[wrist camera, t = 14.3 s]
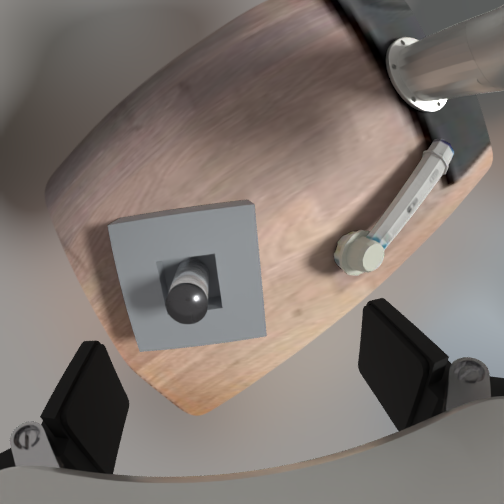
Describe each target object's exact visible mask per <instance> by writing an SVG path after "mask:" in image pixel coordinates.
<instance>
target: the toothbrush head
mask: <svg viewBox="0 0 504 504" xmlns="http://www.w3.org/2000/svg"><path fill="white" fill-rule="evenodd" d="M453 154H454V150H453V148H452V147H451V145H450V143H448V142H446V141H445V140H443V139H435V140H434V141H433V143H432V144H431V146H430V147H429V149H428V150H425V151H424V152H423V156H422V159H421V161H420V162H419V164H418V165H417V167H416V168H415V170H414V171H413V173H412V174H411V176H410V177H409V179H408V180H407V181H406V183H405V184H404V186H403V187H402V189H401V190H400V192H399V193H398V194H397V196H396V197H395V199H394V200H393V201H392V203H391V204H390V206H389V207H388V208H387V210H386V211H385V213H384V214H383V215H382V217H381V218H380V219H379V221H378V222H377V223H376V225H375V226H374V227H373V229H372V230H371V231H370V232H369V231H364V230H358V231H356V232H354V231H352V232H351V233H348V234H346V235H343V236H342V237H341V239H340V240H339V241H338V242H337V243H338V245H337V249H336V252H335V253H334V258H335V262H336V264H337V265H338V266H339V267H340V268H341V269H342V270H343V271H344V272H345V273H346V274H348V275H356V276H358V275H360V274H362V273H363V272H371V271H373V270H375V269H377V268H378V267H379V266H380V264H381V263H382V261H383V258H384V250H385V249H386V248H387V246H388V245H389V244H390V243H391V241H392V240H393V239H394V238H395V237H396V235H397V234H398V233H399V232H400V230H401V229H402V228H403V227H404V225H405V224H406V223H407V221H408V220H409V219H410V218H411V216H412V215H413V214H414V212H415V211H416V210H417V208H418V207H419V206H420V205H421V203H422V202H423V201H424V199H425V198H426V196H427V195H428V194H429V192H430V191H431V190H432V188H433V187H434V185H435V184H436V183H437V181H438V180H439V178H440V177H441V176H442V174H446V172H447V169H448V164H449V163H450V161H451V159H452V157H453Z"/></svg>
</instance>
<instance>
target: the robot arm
mask: <svg viewBox="0 0 504 504" xmlns="http://www.w3.org/2000/svg"><path fill="white" fill-rule="evenodd" d="M386 66H387V71H388V75H389V78H390V80H391V82H392V84H393V86H394V88H395V89H396V91H397V92H398V94H399V95H400V96H401V97H402V99H403V100H405V101H406V102H407V103H408V104H409V105H410V106H412V107H413V108H415V109H417V110H419V111H423V112H433V111H437V110H439V109H441V108H442V107H443V106H444V104H445V103H446V101H447V99H449V98H455V97H461V96H467V95H474V94H480V93H488V92H496V91H504V5H503V6H501V7H499V8H496V9H494V10H492V11H489V12H486V13H484V14H482V15H479V16H476V17H473V18H471V19H468V20H465V21H463V22H460V23H458V24H455V25H453V26H451V27H448V28H446V29H443V30H441V31H439V32H436V33H434V34H432V35H430V36H427V37H425V38H423V39H421V40H417V39H414V38H410V37H403V38H400V39H397V40H396V41H394V42H393V43H392V44H391V45H390V46H389V48H388V50H387V54H386ZM448 358H449V357H448V356H447V355H446V354H445V353H444V352H443V351H442V350H441V349H440V348H439V347H438V346H437V345H436V344H435V343H433V342H432V341H431V340H430V339H429V338H428V337H427V336H426V335H424V333H422V332H421V331H420V330H419V329H418V328H417V327H416V326H415V325H414V324H413V323H411V322H410V321H409V320H408V319H407V318H406V317H404V315H402V314H401V313H400V312H399V311H398V310H396V308H394V307H393V306H392V305H391V304H390V303H389V302H387V301H386V300H385V299H384V298H380V299H376V300H372V301H369V302H368V303H367V306H364V308H363V317H362V330H361V341H360V352H359V361H358V367H359V371H360V373H361V374H362V376H363V378H364V379H365V381H366V382H367V384H368V385H369V387H370V388H371V390H372V391H373V393H374V394H375V395H376V397H377V399H378V400H379V402H380V403H381V405H382V406H383V408H384V409H385V411H386V412H387V414H388V416H389V417H390V419H391V420H392V422H393V423H394V425H395V426H396V428H397V429H398V431H399V432H396V433H394V434H391V435H388V436H386V437H383V438H380V439H378V440H375V441H372V442H369V443H366V444H363V445H360V446H357V447H354V448H351V449H348V450H345V451H341V452H338V453H334V454H331V455H327V456H323V457H320V458H315V459H312V460H307V461H303V462H298V463H294V464H289V465H284V466H279V467H273V468H268V469H261V470H254V471H247V472H239V473H231V474H220V475H207V476H188V477H145V476H127V475H115V474H113V471H114V467H115V461H116V457H117V453H118V449H119V444H120V440H121V436H122V432H123V428H124V424H125V420H126V416H127V412H128V409H129V400H128V397H127V395H126V393H125V391H124V389H123V387H122V384H121V382H120V380H119V378H118V376H117V373H116V371H115V369H114V367H113V364H112V362H111V360H110V357H109V355H108V352H107V350H106V348H105V346H104V345H103V344H100V342H99V341H84V342H83V343H82V344H81V346H80V347H79V349H78V351H77V352H76V354H75V356H74V357H73V359H72V361H71V362H70V364H69V366H68V367H67V369H66V371H65V372H64V374H63V376H62V378H61V379H60V381H59V383H58V385H57V386H56V388H55V390H54V392H53V394H52V395H51V398H50V399H49V401H48V403H47V405H46V407H45V409H44V410H43V412H42V414H41V416H40V417H41V418H42V419H43V422H42V424H41V425H40V424H39V423H37V422H34V421H31V422H25V423H22V424H21V425H19V426H18V427H17V428H16V429H15V430H14V431H13V433H12V434H11V438H10V445H11V448H10V449H8V450H6V451H4V452H3V453H0V504H504V378H498V377H490V375H489V370H488V368H487V367H486V365H485V364H484V363H483V362H481V361H479V360H477V359H475V358H470V357H469V358H468V357H463V358H460V359H457V360H455V361H454V362H453V363H452V364H451V363H450V362H449V361H448Z"/></svg>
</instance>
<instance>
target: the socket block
mask: <svg viewBox="0 0 504 504" xmlns="http://www.w3.org/2000/svg"><path fill="white" fill-rule="evenodd" d="M108 231H109V236H110V241H111V246H112V251H113V255H114V260H115V265H116V269H117V273H118V277H119V281H120V285H121V289H122V293H123V297H124V301H125V304H126V308H127V312H128V315H129V319H130V322H131V325H132V329H133V332H134V335H135V338H136V341H137V345H138V348H139V351H140V352H142V351H155V350H166V349H176V348H185V347H194V346H202V345H210V344H218V343H225V342H232V341H239V340H246V339H252V338H258V337H264V336H267V334H266V323H265V312H264V301H263V290H262V279H261V268H260V258H259V247H258V236H257V226H256V216H255V205H254V204H253V203H252V202H251V201H249V200H240V201H232V202H224V203H216V204H208V205H201V206H193V207H186V208H179V209H172V210H166V211H159V212H153V213H146V214H140V215H134V216H128V217H122V218H119V219H117V220H116V221H114V222H112V223H111V224H109V225H108ZM186 259H198V260H200V261H202V262H203V263H204V264H205V265H206V267H207V268H208V272H209V284H208V310H207V313H206V315H205V316H204V318H203V319H202V320H200V321H199V322H197V323H194V324H181V323H179V322H177V321H175V320H174V319H172V318H171V317H170V315H169V314H168V312H167V310H166V298H167V295H168V293H169V290H170V287H171V284H172V281H173V278H174V276H175V273H176V270H177V268H178V266H179V264H180V263H181V262H183V261H184V260H186Z"/></svg>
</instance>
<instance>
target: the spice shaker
mask: <svg viewBox="0 0 504 504" xmlns="http://www.w3.org/2000/svg"><path fill="white" fill-rule="evenodd" d="M208 284H209V272H208V268H207V267H206V265H205V264H204V263H203V262H202V261H200V260H198V259H186V260H184V261H183V262H181V263H180V264H179V266H178V268H177V270H176V273H175V276H174V278H173V281H172V284H171V287H170V290H169V293H168V295H167V298H166V310H167V312H168V314H169V315H170V317H171V318H172V319H174V320H175V321H177V322H179V323H181V324H194V323H197V322H199V321H200V320H202V319H203V318H204V316H205V315H206V313H207V310H208Z"/></svg>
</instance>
